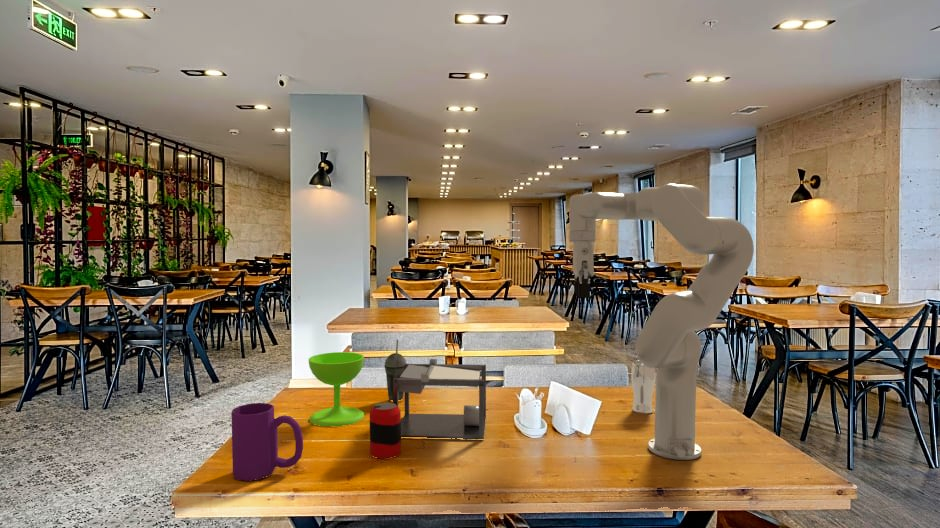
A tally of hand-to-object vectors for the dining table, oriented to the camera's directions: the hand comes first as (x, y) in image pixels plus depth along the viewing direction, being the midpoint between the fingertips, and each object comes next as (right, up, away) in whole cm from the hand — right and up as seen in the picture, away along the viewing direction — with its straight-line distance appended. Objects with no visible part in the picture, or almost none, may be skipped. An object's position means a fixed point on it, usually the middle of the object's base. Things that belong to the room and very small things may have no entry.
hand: (581, 295), depth 163 cm
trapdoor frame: (-41, -37, -7) cm, 55 cm away
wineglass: (-72, -37, +2) cm, 81 cm away
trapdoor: (-41, -26, -7) cm, 49 cm away
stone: (-34, -33, -7) cm, 48 cm away
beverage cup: (-57, -36, +19) cm, 70 cm away
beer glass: (+20, -36, +9) cm, 42 cm away
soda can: (-54, -38, -25) cm, 70 cm away
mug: (-79, -39, -36) cm, 95 cm away
